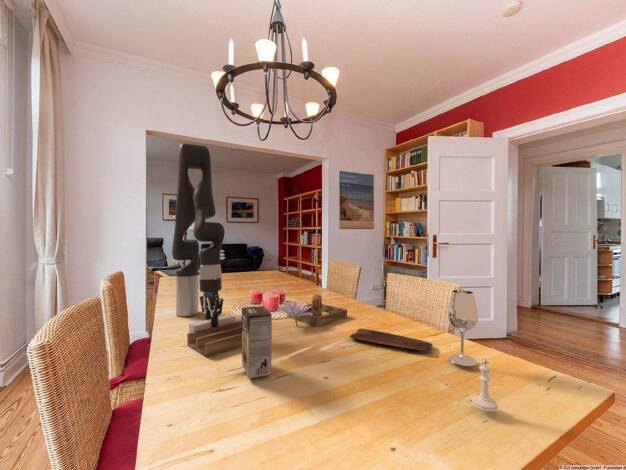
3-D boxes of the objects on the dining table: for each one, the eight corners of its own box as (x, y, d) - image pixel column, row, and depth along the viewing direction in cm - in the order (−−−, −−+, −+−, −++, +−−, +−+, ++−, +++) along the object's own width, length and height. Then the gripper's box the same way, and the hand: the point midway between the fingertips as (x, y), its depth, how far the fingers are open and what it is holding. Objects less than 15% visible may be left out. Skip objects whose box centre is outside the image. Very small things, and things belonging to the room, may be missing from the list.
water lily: (319, 322, 123) (319, 300, 123) (306, 334, 109) (306, 309, 109) (286, 319, 128) (286, 298, 128) (270, 330, 114) (270, 306, 114)
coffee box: (241, 364, 84) (241, 307, 84) (263, 360, 86) (263, 305, 86) (247, 379, 76) (247, 315, 75) (272, 374, 78) (272, 313, 78)
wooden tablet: (434, 339, 99) (429, 346, 90) (433, 346, 99) (429, 353, 90) (358, 327, 112) (348, 332, 104) (358, 333, 112) (347, 338, 103)
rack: (187, 345, 98) (187, 333, 98) (240, 331, 112) (240, 320, 112) (206, 357, 88) (206, 344, 88) (262, 340, 103) (262, 328, 103)
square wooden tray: (287, 317, 130) (287, 309, 130) (316, 309, 143) (316, 302, 143) (318, 327, 117) (318, 318, 117) (347, 317, 130) (347, 309, 130)
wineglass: (474, 357, 89) (475, 290, 89) (480, 368, 82) (480, 295, 81) (446, 353, 91) (446, 288, 91) (448, 364, 84) (449, 293, 84)
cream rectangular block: (189, 341, 102) (189, 324, 102) (229, 330, 114) (229, 314, 114) (194, 344, 100) (194, 326, 100) (235, 332, 112) (234, 316, 112)
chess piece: (467, 398, 67) (467, 354, 67) (488, 397, 67) (488, 353, 67) (480, 411, 62) (481, 363, 62) (503, 410, 62) (503, 363, 62)
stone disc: (319, 321, 124) (319, 297, 124) (310, 321, 125) (310, 297, 125) (323, 314, 135) (323, 292, 135) (315, 314, 135) (315, 292, 135)
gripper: (191, 277, 110) (192, 325, 109) (209, 279, 100) (211, 331, 99) (211, 275, 115) (212, 321, 114) (230, 277, 105) (231, 326, 104)
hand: (211, 325), depth 106 cm, fingers open, 4 cm apart
